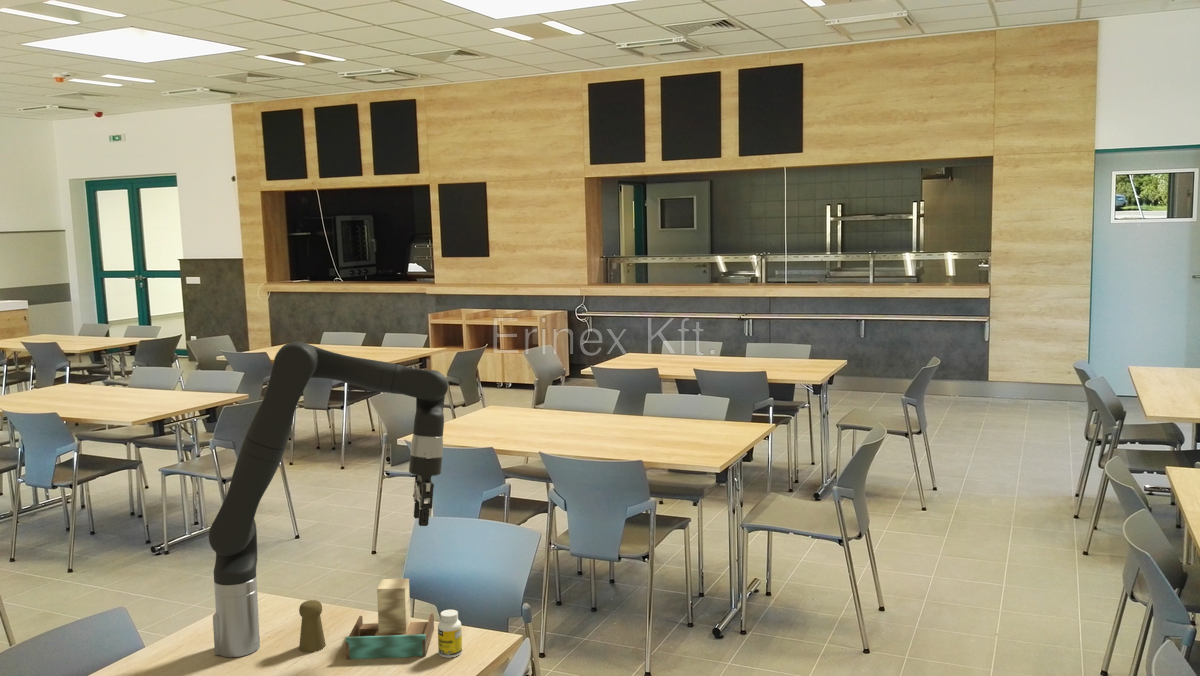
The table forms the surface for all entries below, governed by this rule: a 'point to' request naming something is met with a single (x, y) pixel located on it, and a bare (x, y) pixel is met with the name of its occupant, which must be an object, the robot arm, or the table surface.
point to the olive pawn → (311, 627)
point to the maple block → (393, 606)
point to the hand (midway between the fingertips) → (420, 521)
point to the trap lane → (388, 641)
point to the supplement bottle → (449, 634)
